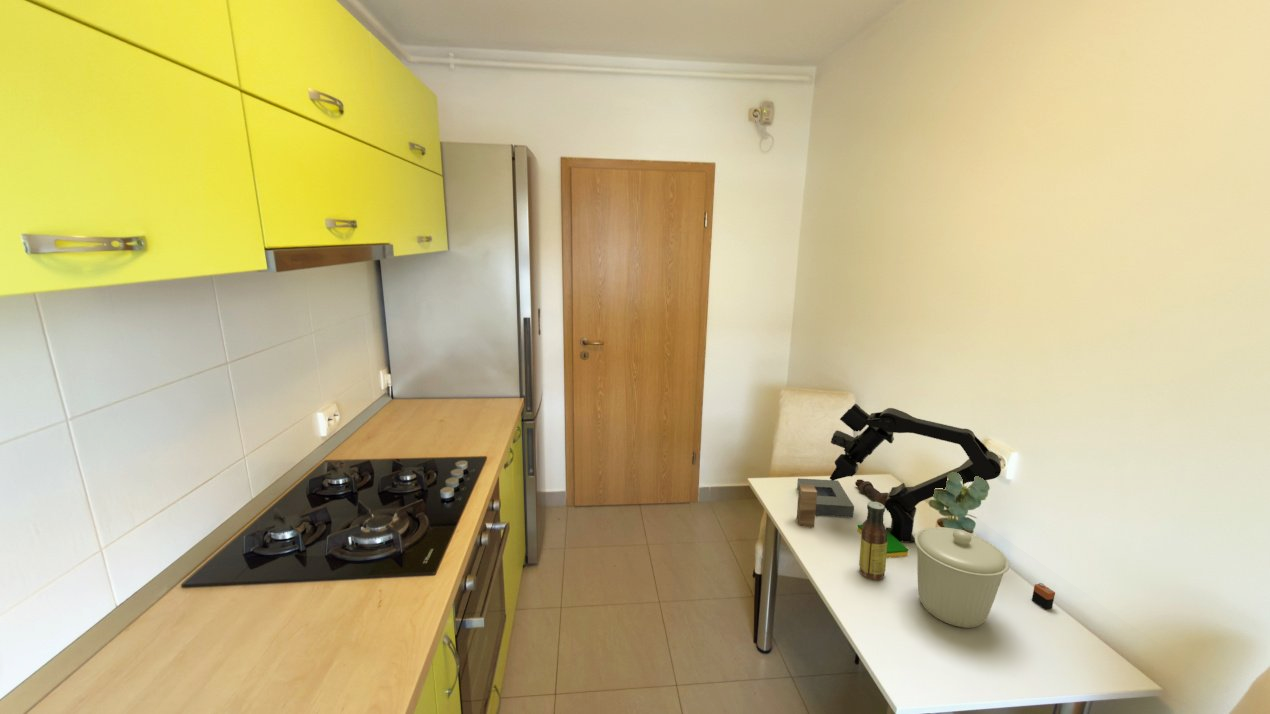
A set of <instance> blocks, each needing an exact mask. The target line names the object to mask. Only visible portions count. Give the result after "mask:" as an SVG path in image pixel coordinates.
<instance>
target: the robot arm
mask: <svg viewBox="0 0 1270 714" xmlns="http://www.w3.org/2000/svg"><path fill="white" fill-rule="evenodd" d="M839 420H840V421H841V422H843V424H845V425H846V426H847V427H849V428H850V429H851V430H852V431H853V432H861V431H862V432H861V433H860V434H859V435H856V436H855V437H854V436H852V435H851V434H847V433H845V432H843V431H841V430H839V429H838V430H835V431H834V432H833V435H832V437H831V438H830V439H831V440H830V443H831V444H832V445H834V446H837V447H840V448H843V451H844V453H841V454H839V456H838V457H836V459H835V461H834V465H835V469H834V470H833V472H832V474H831V475H830V477H829V480H832V481H833V480H839V479H843V478H846V477H851V478H852V477H854V475H856V473H857V472H858V470H859V464H863V462H864V460H865V459H867V458H868V456H870V455H872V454H873V452H874V450H876V448H878V447H879V446H880V445H881V444H882V443H883V442H884V441H887V442H888V443H889V444H892V443H893V442H894V440H895V437H894V434H907V433H908V434H915V435H919V436H923V437H927V438H931V439H936V440H939V441H944V442H948V443H952V444H956V445H959V446H960V447H961V449H962V450H963V451H964V453H965V454H966V456H967V457H968V459H967V460H966V461H964V463H962V464H961V465H959V466H958V467H955V468H954V469H951V470H949V471H946V472H944V473H941V474H939V475H937V476H935V477H933V478H932V477H931V478H930V479H928V480H925V481H923V482H920V483H918V484H916V485H914V486H906V483H904V482H903V483H900V485H898V486H893V487H891V489H890V491H889V492H888V493H889V494H888V496H887V499H886V501H885V509H886V511H887V512H888V513H889V514H890V519H891V522H890V527H885V529H886V530H887V531H888V532H889V533H890V534H892V535H893V536H894V537H895V538H896V539H897V540H898V541H899V542H901V541H903V542H904V543H915V536H914V535H913V530H914V523H915V516H916V512H917V507H916V506H917V505H918V504H920V503H921V502H923V501H925V500H928V499H931V498H934V496H933V494H934V489H935V488H943V489H945V487H946V481H947V475H948V473H951V472H957V473H959V474H960V475H961V477H962V479H963V485H965V484H967V483H974V482H973V481H974V477H975V476H979V477H981V478H983V479H984V480H985V481H990V480H994V479H996V478H998V477H999V476H1000V475H1001V472H1002V466H1001V465H1002V463H1001V459H1000V457H999V455H998V454H996V452H993V451H990V450H989V449H988V448H987V446H986V445H985V444H984V443H983V442H982V441H981V440H980V439H979V438H978V437H977V436H976V435H975V433H974V431H972V430H971V429H969V428H962V427H961V428H960V427H957V426H953V425H948V424H943V423H940V422H934V421H931V420H926V419H921V418H917V417H915V416H912V415H911V414H909V413H907V412H905V411H902V410H899V409H897V408H893V407H887V408H886V409H883V410H882V411H879V412H873V413H872V412H871V413H870V414H868V413H867V412H866V411H865V410H864V409H862V408H861V406H859V405H858V404H857V403H854V405H852V406H851V407H850V408H849V409H848V410H847V411H845V412H844V413H843V414H842V416H841V417H840V418H839ZM866 426H867V428H866ZM864 428H865V429H864ZM863 429H864V431H863ZM985 481H984V482H985Z"/></svg>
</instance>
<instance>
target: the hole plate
mask: <svg viewBox="0 0 1270 714" xmlns="http://www.w3.org/2000/svg"><path fill="white" fill-rule="evenodd" d="M799 484H801V485H814V487H815V489H816V491H817V501H816V513H815V516H819V517H820V516H823V517H834V518H835V517H837V518H838V517H839V518H840V517H841V518H852V519H853V518H854V511H855V506H854V504H853V503H852V501H851V499H850V497H849V496H848V495H847V493H846V491H845V490H844V487H843V485H841V483H840V482H839V480H838V479H836V480H833V481H832V480H831V479H818V478H817V479H816V478H815V479H813V478H799V477H798V478H797V484H796V485H797V486H796V490H797V491H798V492H799Z"/></svg>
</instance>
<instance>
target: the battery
mask: <svg viewBox="0 0 1270 714" xmlns="http://www.w3.org/2000/svg"><path fill="white" fill-rule="evenodd" d="M1055 596H1056V592H1055V591H1054V590H1053V589H1051V588H1049V587H1047V586H1046V585H1045V584H1044V583H1042V582H1039V583H1037V584H1034V586H1033V591H1032V596H1031V597H1032V598H1031V601H1032V602H1034V603H1035V604H1036V605H1037V606H1039V607H1041V609H1043V610H1051V609H1053V605H1054V601H1055Z"/></svg>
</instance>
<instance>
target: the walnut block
mask: <svg viewBox="0 0 1270 714" xmlns="http://www.w3.org/2000/svg"><path fill="white" fill-rule="evenodd" d="M816 501H817V491H816V489H815V487H814V485H801V484H799V492H798V495H797V506H796V508H797V509H796V517H795V518H796V521H797V524H798V526H799V527H802V528H803V527H805V528H815V524H816V523H815V522H816V515H815V513H816Z"/></svg>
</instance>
